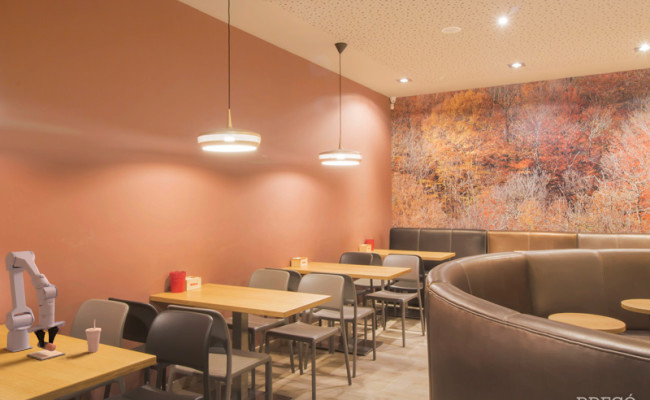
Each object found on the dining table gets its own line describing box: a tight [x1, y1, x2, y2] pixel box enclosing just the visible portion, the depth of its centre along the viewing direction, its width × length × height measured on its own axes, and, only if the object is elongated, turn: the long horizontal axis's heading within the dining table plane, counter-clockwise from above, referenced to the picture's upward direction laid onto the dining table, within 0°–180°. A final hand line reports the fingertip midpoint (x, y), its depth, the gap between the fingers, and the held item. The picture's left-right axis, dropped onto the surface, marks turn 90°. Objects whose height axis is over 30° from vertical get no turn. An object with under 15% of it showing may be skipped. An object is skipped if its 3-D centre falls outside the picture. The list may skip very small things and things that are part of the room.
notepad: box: [26, 349, 66, 361], centre depth 195 cm, size 13×10×1 cm
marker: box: [36, 340, 57, 351], centre depth 195 cm, size 10×3×3 cm, turn 57°
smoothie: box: [84, 319, 102, 354], centre depth 200 cm, size 6×6×14 cm
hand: (46, 346), depth 195 cm, fingers closed on marker, 3 cm apart
